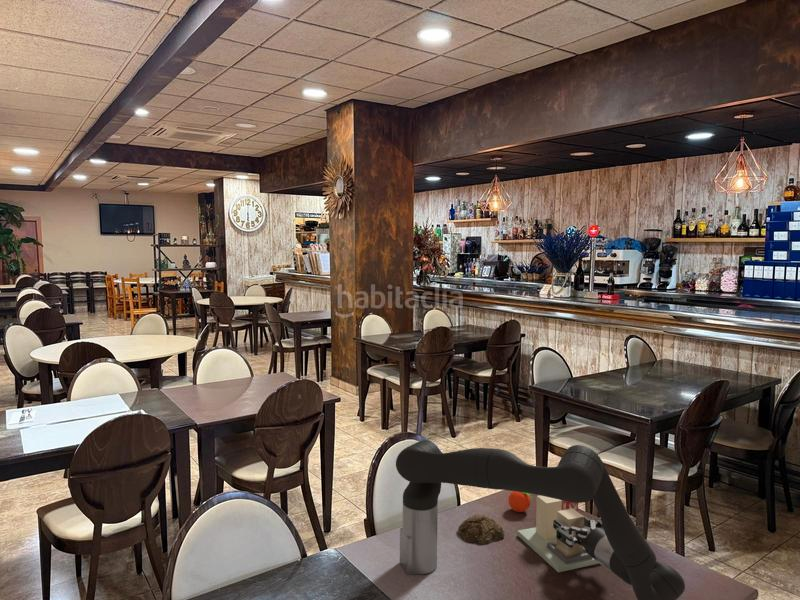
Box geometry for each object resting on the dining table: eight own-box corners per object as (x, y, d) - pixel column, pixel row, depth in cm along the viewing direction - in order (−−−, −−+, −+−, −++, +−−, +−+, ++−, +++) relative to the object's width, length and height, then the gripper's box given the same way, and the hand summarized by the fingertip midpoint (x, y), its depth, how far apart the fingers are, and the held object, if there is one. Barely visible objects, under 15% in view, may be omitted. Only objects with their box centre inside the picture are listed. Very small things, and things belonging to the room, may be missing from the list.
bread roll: (483, 520, 174) (483, 505, 173) (510, 538, 163) (510, 521, 163) (449, 530, 167) (450, 514, 167) (475, 549, 157) (475, 532, 156)
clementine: (536, 510, 180) (536, 488, 180) (529, 518, 174) (530, 497, 174) (512, 504, 184) (512, 483, 184) (505, 512, 178) (505, 491, 178)
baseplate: (558, 572, 145) (559, 526, 144) (517, 535, 164) (518, 494, 163) (602, 562, 150) (604, 518, 149) (557, 527, 169) (559, 487, 168)
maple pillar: (567, 558, 149) (568, 519, 148) (556, 549, 154) (557, 511, 153) (582, 555, 151) (584, 516, 150) (571, 546, 155) (572, 508, 154)
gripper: (632, 531, 139) (589, 503, 155) (584, 540, 135) (545, 511, 150) (630, 559, 140) (588, 529, 155) (583, 570, 135) (545, 537, 151)
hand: (567, 520), depth 153 cm, fingers open, 8 cm apart
